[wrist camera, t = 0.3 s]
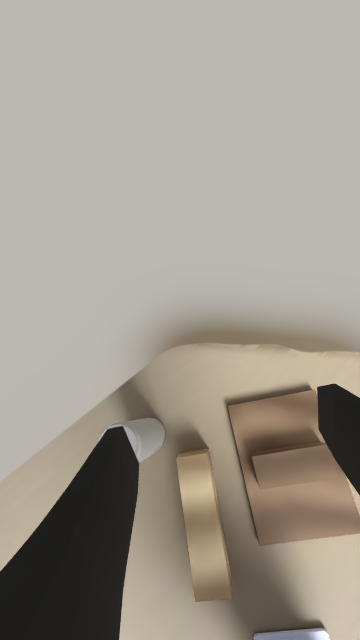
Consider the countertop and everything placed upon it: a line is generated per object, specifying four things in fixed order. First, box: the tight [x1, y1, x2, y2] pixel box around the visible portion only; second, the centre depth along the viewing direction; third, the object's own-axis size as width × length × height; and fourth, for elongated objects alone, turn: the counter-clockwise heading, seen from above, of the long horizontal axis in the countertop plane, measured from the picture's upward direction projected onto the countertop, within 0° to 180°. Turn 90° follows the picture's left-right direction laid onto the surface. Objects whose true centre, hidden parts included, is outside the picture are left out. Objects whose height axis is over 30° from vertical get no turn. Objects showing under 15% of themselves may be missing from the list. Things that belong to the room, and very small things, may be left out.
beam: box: [176, 448, 232, 602], centre depth 31 cm, size 14×4×4 cm, turn 9°
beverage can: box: [98, 418, 165, 463], centre depth 31 cm, size 5×5×12 cm
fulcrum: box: [228, 390, 360, 546], centre depth 31 cm, size 16×12×4 cm
